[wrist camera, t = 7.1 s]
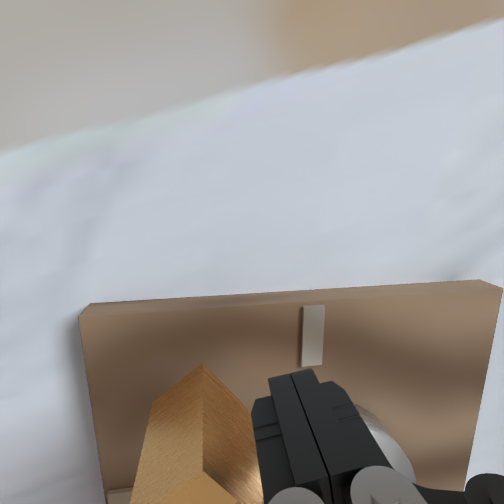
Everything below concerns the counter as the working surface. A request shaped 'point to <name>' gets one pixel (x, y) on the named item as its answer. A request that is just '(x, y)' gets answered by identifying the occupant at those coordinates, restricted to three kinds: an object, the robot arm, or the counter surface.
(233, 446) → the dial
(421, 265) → the counter surface
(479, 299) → the board
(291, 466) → the robot arm
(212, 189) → the counter surface
